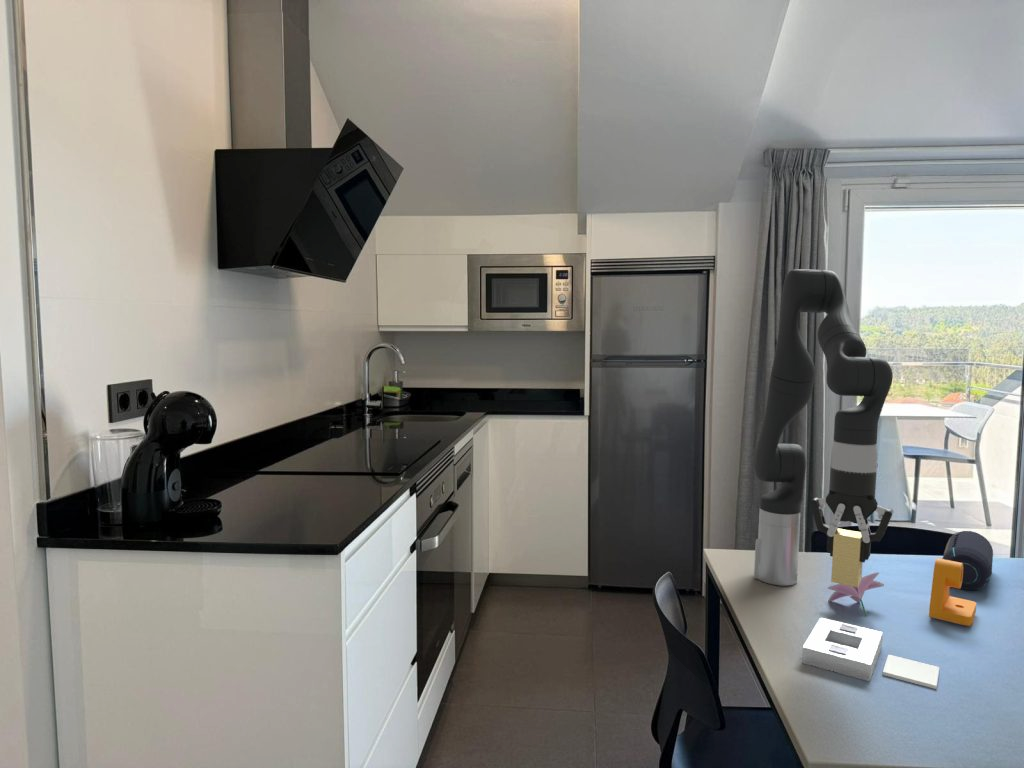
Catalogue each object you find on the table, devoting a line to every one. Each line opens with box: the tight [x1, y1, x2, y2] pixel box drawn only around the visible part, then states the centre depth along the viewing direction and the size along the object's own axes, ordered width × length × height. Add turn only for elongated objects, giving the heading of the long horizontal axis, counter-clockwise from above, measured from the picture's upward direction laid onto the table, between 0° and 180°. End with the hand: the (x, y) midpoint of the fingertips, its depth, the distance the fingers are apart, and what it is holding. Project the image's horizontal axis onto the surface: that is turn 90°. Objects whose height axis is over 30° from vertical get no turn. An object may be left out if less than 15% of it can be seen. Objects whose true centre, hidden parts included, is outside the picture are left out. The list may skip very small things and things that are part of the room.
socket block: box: [801, 617, 884, 683], centre depth 126 cm, size 11×16×3 cm
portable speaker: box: [941, 530, 994, 591], centre depth 168 cm, size 25×10×10 cm, turn 144°
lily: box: [827, 572, 885, 617], centre depth 147 cm, size 12×12×10 cm
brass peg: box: [830, 527, 864, 587], centre depth 125 cm, size 4×4×9 cm
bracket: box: [928, 557, 977, 627], centre depth 144 cm, size 11×7×12 cm, turn 140°
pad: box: [882, 653, 940, 690], centre depth 120 cm, size 8×8×1 cm
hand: (847, 557), depth 125 cm, fingers closed on brass peg, 4 cm apart
